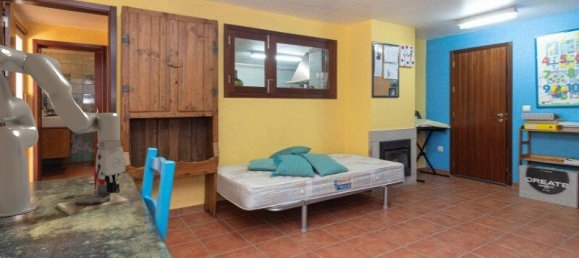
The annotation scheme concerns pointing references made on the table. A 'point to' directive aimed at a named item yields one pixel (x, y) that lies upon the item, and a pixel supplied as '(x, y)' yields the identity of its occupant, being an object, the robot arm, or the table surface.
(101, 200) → the disc
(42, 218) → the table surface
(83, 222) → the table surface
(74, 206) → the stand
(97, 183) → the soda can
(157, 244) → the table surface
